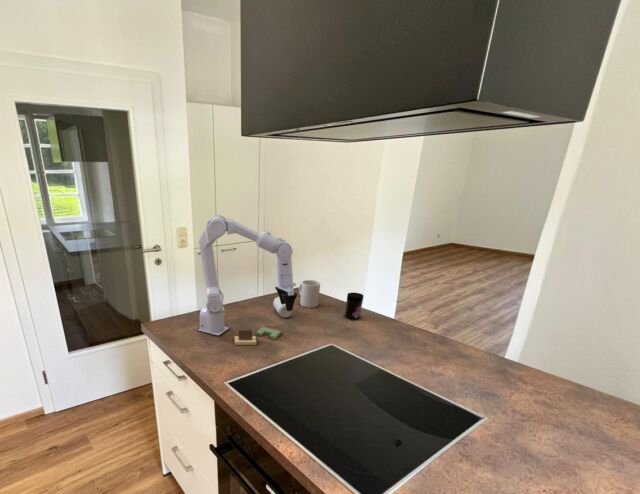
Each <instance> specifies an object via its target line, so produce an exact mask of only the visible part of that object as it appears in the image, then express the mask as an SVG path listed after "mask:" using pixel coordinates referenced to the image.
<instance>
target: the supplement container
mask: <svg viewBox="0 0 640 494" xmlns="http://www.w3.org/2000/svg"><path fill="white" fill-rule="evenodd" d="M346 295H347V296H346V303H345V310H344V318H346V319H348V320H351V321H352V320H353V321H357V320H359V319H360V318H361V314H362V308H363V301H364V294H363V293H360V292H348V293H347V294H346Z"/></svg>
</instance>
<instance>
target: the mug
mask: <svg viewBox="0 0 640 494" xmlns="http://www.w3.org/2000/svg"><path fill="white" fill-rule="evenodd" d="M320 289H321V282H319V281H317V280H311V279H309V280H308V279H306V280H302V282H301V283H300V284H299V287H298V292H299V293H298V294H299V295H300V300H299V304H300V306H301V307H303V308H309V309H313V308H317V307H318V306H319V301H320V299H319V298H320V291H321V290H320Z"/></svg>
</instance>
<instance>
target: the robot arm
mask: <svg viewBox="0 0 640 494" xmlns="http://www.w3.org/2000/svg"><path fill="white" fill-rule="evenodd" d="M225 234H226V235H227V236H229V235H233V234H237V235H239V236H241V237H244V238H247V239H248V240H251V241H253V242H255V244H256V247H258V248H259V249H262V250H264V251H267V252H268V253H271V254H275V255H276V276H277V286H275V287H274V288H275V290H276V292H277V295H278V297H279V298H280V302H281V304H285V305H286V310H287V311H292V310H293V311H294V305H295V302H296V298H297V297H298V293H297V292H295V290H294V287H295V286H297V283H296V282H294V281H293V280H294V277H293V260H292V255H293V252H294V251H293V249H292V246H291V245H290V243H289V242H288V241H286V239H283V238H281V237H277V236H274V235H272V234H271V232H270V231H261V232H258V231H256V230H254V229H252V228H249V227H248V226H247V225H244V224H242V223H241V222H239V221H236V220H234V219H231V218H229V217H224V216H223V215H220V214H216V215H213V216H212V217H211V218H210V219H209V220H208V221H207V223H206V225H205V227H204V229H203V231H202V234H201V235H200V238H199V240H198V244H199V246H198V247H199V251H200V256H201V262H202V268H203V269H202V270H203V274H204V279H205V287H206V298H207V300H206V304H205V306H204V307H202V308H201V310H200V311H199V329H198V331H199V332H203V333H207V334H209V335H213V336H218V337H219V336H221V335H222V334H224V333H225V332H226V331H228V330H229V329H230V328H229V327H228V326H226V325H225V307H224V297H225V296H224V293H223V292H222V291H221V287H220V283H219V277H218V271H217V265H216V258H215V253H214V252H215V251H214V246H213V245H214V243H215V242H216V241H217V240H218V239H219V238H221V237H223V236H224V235H225Z"/></svg>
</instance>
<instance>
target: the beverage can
mask: <svg viewBox="0 0 640 494" xmlns="http://www.w3.org/2000/svg"><path fill="white" fill-rule="evenodd" d="M272 304H273V307H274V309H275V310H276V312H277V313H278V315H279V316H280V317H281V318H283V319H287V318H289V317H291V316H292V315H293V313H294V309H293V310H292V311H287V310H286V305H285V304H281V302H280V298H279V296H277V297H275V298H274V299H273V303H272Z"/></svg>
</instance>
